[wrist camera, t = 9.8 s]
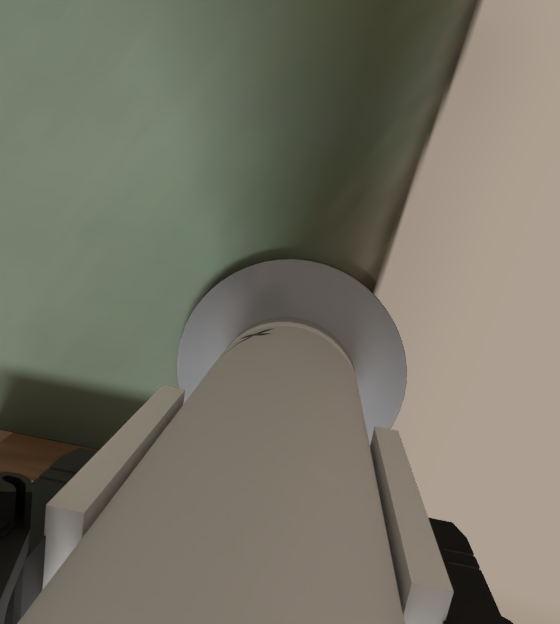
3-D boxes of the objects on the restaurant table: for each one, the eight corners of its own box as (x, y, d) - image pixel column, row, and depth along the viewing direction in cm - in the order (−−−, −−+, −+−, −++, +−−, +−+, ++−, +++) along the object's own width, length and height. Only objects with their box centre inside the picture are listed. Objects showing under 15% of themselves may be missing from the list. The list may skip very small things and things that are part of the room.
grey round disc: (195, 240, 22) (191, 240, 21) (427, 281, 21) (431, 282, 21) (168, 450, 24) (164, 456, 24) (378, 493, 24) (379, 500, 23)
